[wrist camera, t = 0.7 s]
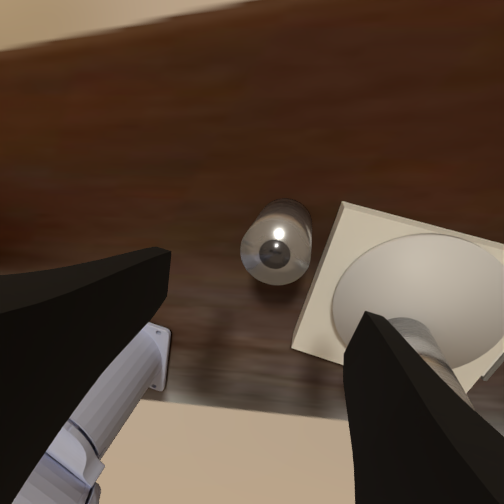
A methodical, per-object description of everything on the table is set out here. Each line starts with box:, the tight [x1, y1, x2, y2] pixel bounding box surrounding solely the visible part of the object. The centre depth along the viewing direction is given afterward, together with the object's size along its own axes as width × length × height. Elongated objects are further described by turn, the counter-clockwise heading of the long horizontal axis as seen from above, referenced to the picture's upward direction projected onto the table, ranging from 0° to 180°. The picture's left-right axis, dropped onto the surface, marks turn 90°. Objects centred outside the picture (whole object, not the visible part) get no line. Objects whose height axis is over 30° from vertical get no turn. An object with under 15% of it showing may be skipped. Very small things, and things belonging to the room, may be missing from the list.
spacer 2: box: [388, 317, 475, 411], centre depth 15 cm, size 4×4×5 cm
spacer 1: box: [240, 198, 312, 285], centre depth 16 cm, size 4×4×5 cm
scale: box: [291, 201, 504, 393], centre depth 18 cm, size 12×11×2 cm
